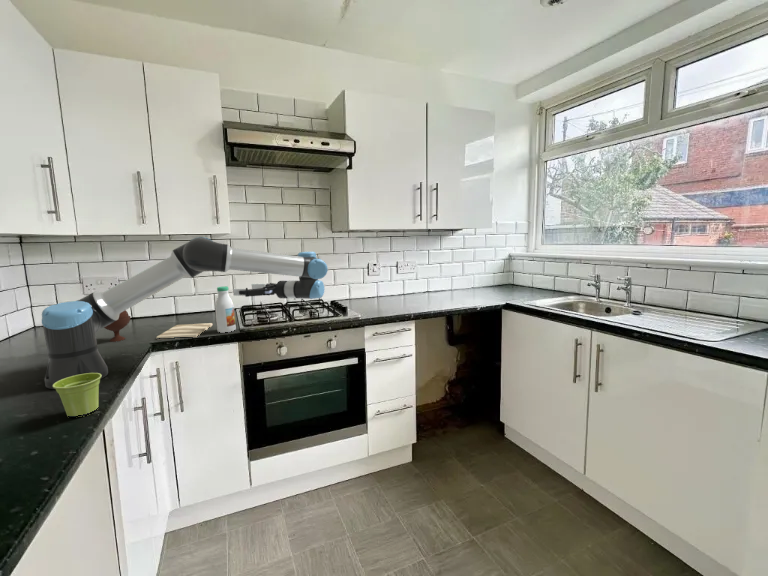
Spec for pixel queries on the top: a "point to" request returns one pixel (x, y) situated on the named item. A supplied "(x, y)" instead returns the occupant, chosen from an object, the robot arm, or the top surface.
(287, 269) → the robot arm
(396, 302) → the top surface
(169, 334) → the birch board
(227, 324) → the milk bottle
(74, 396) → the plant pot
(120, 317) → the ice cream bowl
